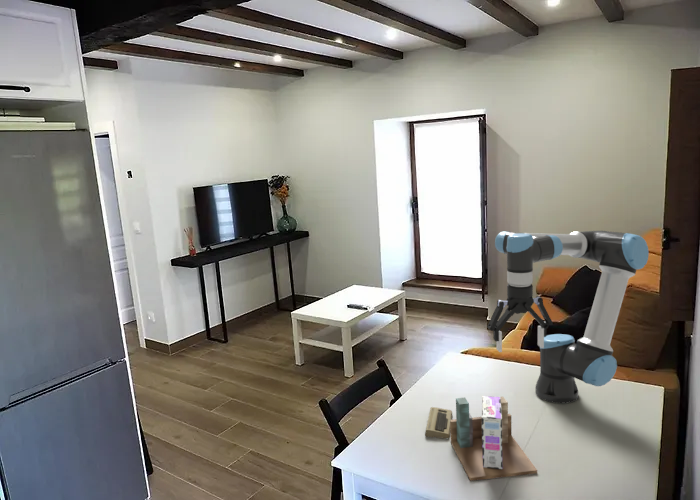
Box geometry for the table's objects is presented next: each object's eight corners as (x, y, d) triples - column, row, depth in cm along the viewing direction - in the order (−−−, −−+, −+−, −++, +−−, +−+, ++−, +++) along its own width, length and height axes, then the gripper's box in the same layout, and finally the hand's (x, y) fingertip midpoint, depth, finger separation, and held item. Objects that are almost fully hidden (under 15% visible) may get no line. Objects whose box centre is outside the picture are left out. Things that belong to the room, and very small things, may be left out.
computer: (449, 440, 166) (449, 430, 166) (425, 437, 168) (424, 428, 168) (452, 416, 181) (452, 407, 181) (430, 414, 183) (429, 406, 183)
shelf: (510, 436, 165) (509, 391, 162) (537, 473, 146) (537, 422, 143) (450, 442, 164) (449, 397, 161) (470, 480, 144) (469, 430, 142)
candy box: (503, 470, 147) (502, 418, 144) (482, 468, 148) (480, 417, 145) (502, 443, 160) (501, 396, 157) (483, 442, 161) (481, 394, 158)
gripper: (552, 277, 160) (552, 340, 164) (476, 284, 158) (477, 347, 162) (564, 283, 152) (563, 349, 156) (484, 290, 151) (485, 356, 154)
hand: (519, 348), depth 159 cm, fingers open, 13 cm apart
